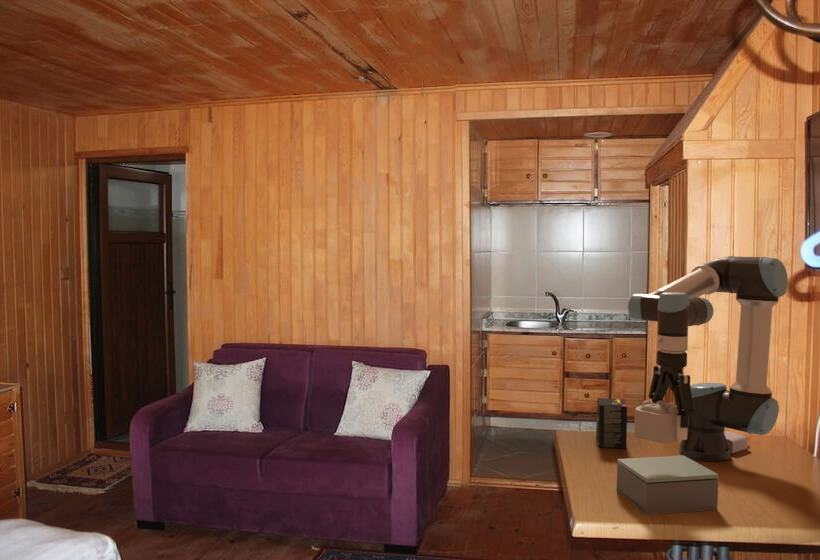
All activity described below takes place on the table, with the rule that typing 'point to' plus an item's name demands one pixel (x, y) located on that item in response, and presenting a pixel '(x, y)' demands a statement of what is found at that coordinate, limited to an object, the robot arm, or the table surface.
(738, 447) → the charger
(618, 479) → the storage box
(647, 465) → the lid
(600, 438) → the tampon box
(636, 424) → the lumpy-topped squat cylinder
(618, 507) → the table surface
